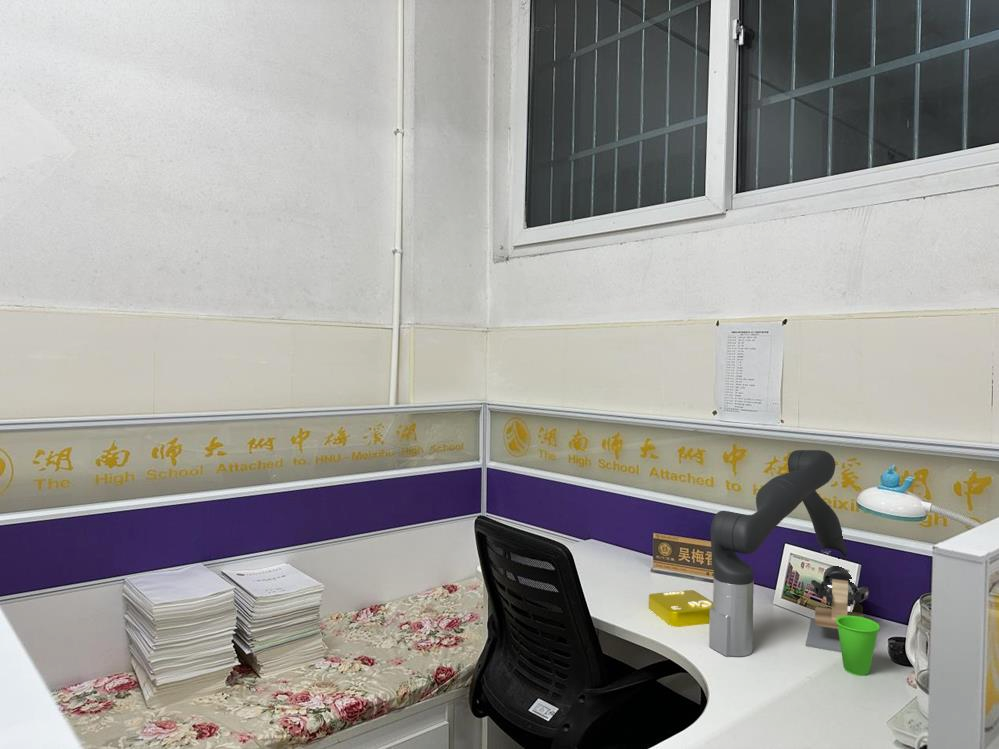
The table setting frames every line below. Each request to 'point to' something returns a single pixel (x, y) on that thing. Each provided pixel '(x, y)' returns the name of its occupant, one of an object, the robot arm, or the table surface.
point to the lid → (835, 606)
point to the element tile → (681, 607)
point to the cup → (857, 643)
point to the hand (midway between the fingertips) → (840, 601)
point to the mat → (823, 637)
